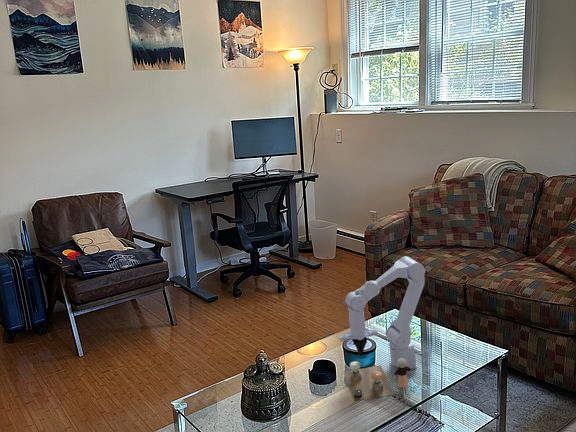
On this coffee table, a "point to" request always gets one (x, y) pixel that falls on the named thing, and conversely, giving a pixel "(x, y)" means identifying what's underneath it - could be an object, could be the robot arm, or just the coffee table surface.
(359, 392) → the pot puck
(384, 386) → the beige rectangular board
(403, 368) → the grandmother figurine
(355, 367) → the knob far
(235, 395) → the coffee table surface
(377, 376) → the knob near
